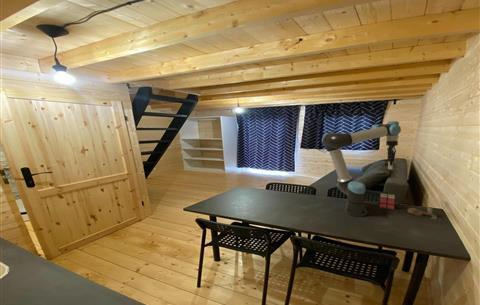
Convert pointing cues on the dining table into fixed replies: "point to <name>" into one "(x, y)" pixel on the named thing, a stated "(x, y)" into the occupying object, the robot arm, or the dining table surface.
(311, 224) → the dining table surface
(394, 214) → the dining table surface
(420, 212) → the dial
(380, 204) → the puzzle cube
